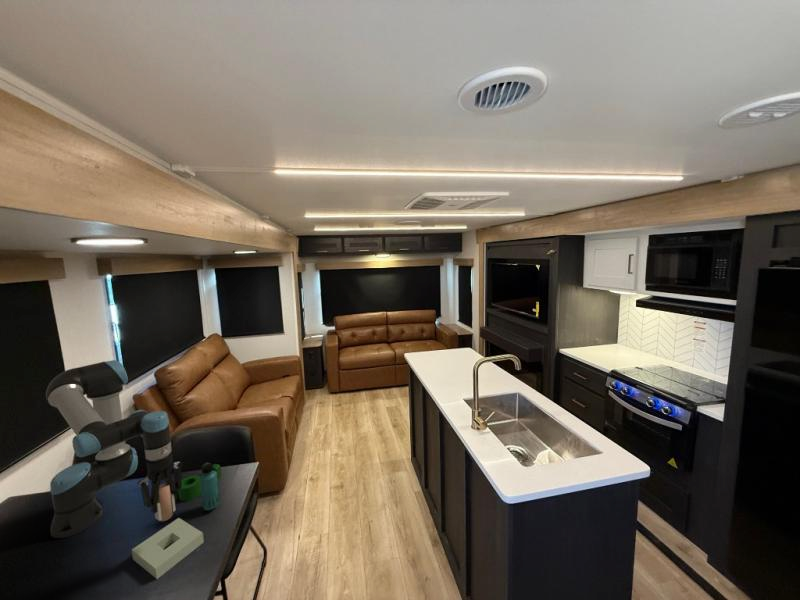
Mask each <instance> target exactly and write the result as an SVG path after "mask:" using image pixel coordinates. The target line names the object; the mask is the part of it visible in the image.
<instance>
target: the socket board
mask: <svg viewBox="0 0 800 600" xmlns="http://www.w3.org/2000/svg"><path fill="white" fill-rule="evenodd" d="M202 544H204V533H203V532H202V531H201V530H199V529H197V528H196V527H195V526H193V525H191V524H189V523H188V522H186V521H185V520H183V519H182V518H180V517H178V518H176V519H174V520H173V521H171V522H170V523H169V524H167V525H166V526H164V527H163V528H161V529H160V530H158V531H157V532H156V533H154V534H152V535H151V536H150V537H148V538H147V539H145V540H144V541H142V542H141V543H139V544H138V545H136V546H135V547H133V548H132V549H131V554H132V560H133V561H134V562H135V563H137V564H138V565H139V566H140V567H142V568H143V569H144V570H145V571H146V572H148V573H149V574H150V575H151V576H152V577H154V578H155V579H156V580H158V579H159V578H161V577H162V576H164V574H165V573H167V572H168V571H170V570H171V569H172V568H173V567H174V566H175V565H177V564H178V563H179V562H181V561H182V560H183V559H185V558H186V557H187V556H188V555H189V554H191V553H192V552H193V551H194V550H196V549H197V548H199V546H201V545H202Z"/></svg>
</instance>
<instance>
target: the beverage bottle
mask: <svg viewBox="0 0 800 600" xmlns="http://www.w3.org/2000/svg"><path fill="white" fill-rule="evenodd" d="M203 465H204V464H203ZM203 465H202V466H203ZM213 465H214V464H213V463H211V464H206V465H204V466H203V470H201V475H202V476H201V475H200V476H201V477H200V480H201V490H202V493H201V502H202V509H203V510H205V511H211V510H213V509H215V508H216V507H218V506H219V503H220V493H219V489H220V488H219V485H218V484H219V482H218V481H219V480H218V479H217V472H216V471H213V469H214V468H213ZM202 472H203V474H202Z"/></svg>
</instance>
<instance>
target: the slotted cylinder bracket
mask: <svg viewBox="0 0 800 600" xmlns="http://www.w3.org/2000/svg"><path fill="white" fill-rule="evenodd" d="M206 464H212V463H211V462H205V463H204V464H202V466H201V469H200V470H201V474H200V475H197V474H194V475H193V474H192V475H188V476H186V477H185V478H182V479H181V482H182V487H181V488H180V489H178V490H177V491H178V499H179V501H181V502H188V501H192V500H194V499H196V498H198V497H199V496H200V495H202V490H201V480H200V477H201V476H202V474H203V472H202V470H203V466H204V465H206ZM213 468H214V469H213V471H216V472H217V480H218V479H220V478H221V477H222V468H221V465H220V464H219V463H214V464H213Z"/></svg>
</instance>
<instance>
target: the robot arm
mask: <svg viewBox="0 0 800 600" xmlns="http://www.w3.org/2000/svg"><path fill="white" fill-rule="evenodd" d="M128 380H129V379H128V375H127V371H126V368H125V366H123V364H122V363H121V362H120V361H118V360H116V359H114V360H113V359H112V360H106V361H101V362H96V363H92V364H88V365H82V366H77V367H73V368H70V369H66V370H64V371H62V372H61V373H59V374H58V375H56V376H55V377H54V378H53V379H52V380H51V381H50V382H49V383H48V386H47V388H46V391H45V398H46V399H45V400H47V403H48V404H49V405H50V406H51V407H54V408H56V409H57V410H58V411H59V413H60V414H61V416H62V417H63V418H64V420H65V421H66V423H67V424H68V425H69V427H70V428H71V430H72V432H73V433H74V434H75V435H74V437H72V448H73V451H74V453H75V454H74V455H76V456H77V457H78V458H85V457H88V456H90V455H93V454H96V455H95V457H94V458H95V461H94V462H91V463H89V462H86V461H83V462H80V463H75V464H73V465H70V466H67V467H65V468H63V469H62V470H61V471H59V472H58V473H56V474H55V475H54V476H53V478H52V479H51V481H50V483H49V484H50V487H49V488H50V494H51V501H52V506H53V511H54V512H53V513H54V515H53V518H52V520H51V524H50V529H49V531H50V532H49V533H50V535H51V537H52V538H54V539H63V538H69V537H71V536H74V535H77V534H78V533H79V534H80V533H81V532H83V531H85V530H87V529H89V528H90V527H92V526H93V525H95V524H96V523H97V522H98V521H99V520H100V519H101V517H102V515H103V508H102V505H101V504H100V502H99V501H98V500H97V499H96V497H95V493H96V492H98V491H100V490H102V489H104V488H106V487H108V486H111V485H113V484H115V483H117V482H119V481H121V480H125V478H128V477H129V476H132V475H133V474H134V473H135V472H136V470H137V468H138V464H139V460H138V459H139V457H138V453H137V451H136V448H134V447H131V445H130V444H127V443H126V441H128V440H130V439H134V438H136V437H139V436H140V437H141V438H142V439H143V440H142V441H143V446H144V456H145V458H144V459H145V465H146V471H147V473H146V474H145V475H146V477H144V478H143V479H142V480H139V481H138V482H137V485H138V486H139V487H140V490H141V491H140V492H141V497H142V501H143V506H145V507H147V508H150V509H151V513H153V514H154V518H155V519H156V520H157V521H159V522H161V521H160V520H162V517H161V508H160V503H159V502H157V501H158V493H159V485H161V483H162V481H163V480H164V481H165V482H166V483H168V484H169V485H170V495H171V504H172V513H174V512H175V511H176V509H177V508H176V500H178V496H177V494H179V492H178V489H180V488H181V487H182V482H181V480H182V466H183V463H182V461H181V462H180V461H178V460H177V461H175V462H174V461H173V460H174V459H173V452H172V441H171V433H170V431H171V430H170V418H169V415H168V413H167V411H164V410H155V411H152V412H151V411H149V410H148V411H147V410H144V409H138V410H134V411H133V412H131V413H130V414H129V415H128V416H126V418H123V415H122V407H121V399H120V393H121V392H122V391H123V390H124V385H126V384H127V383H128V382H129V381H128ZM88 399H89V400H92V404H91V403H90V402H89V401H88ZM172 471H173V476H172V474H171V473H172ZM173 478H174V479H173ZM149 481H151V482H150V484H151V490H150V489H149Z"/></svg>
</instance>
